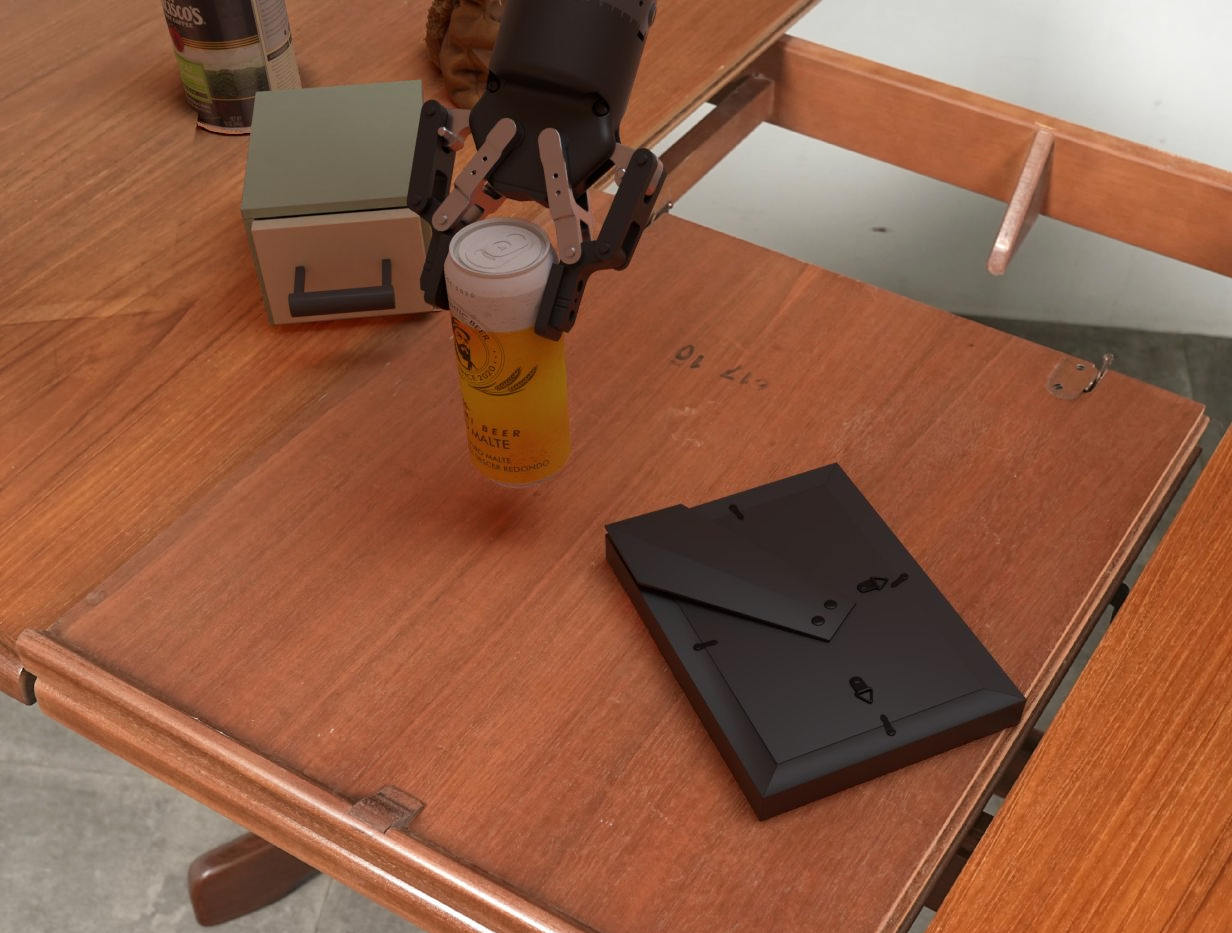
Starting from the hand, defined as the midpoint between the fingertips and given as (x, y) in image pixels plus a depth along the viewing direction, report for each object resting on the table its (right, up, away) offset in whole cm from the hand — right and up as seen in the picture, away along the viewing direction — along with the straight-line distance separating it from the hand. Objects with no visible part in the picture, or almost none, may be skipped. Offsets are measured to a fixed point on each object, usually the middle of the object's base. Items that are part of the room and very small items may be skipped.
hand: (491, 321), depth 73 cm
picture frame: (+17, -17, +6) cm, 25 cm away
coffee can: (-26, +29, +49) cm, 63 cm away
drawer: (-13, +10, +29) cm, 33 cm away
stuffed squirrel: (-5, +33, +52) cm, 61 cm away
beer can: (+1, -7, +10) cm, 12 cm away
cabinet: (-13, +12, +33) cm, 37 cm away
